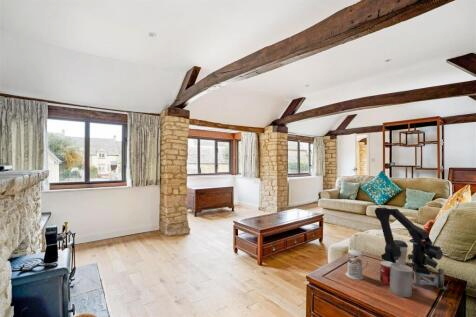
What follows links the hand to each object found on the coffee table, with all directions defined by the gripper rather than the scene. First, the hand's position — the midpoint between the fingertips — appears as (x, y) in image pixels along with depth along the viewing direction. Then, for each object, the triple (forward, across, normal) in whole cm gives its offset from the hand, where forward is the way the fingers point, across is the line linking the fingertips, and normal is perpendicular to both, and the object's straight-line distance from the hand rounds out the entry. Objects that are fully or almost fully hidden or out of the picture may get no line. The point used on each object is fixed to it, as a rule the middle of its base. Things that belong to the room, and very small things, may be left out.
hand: (417, 278), depth 135 cm
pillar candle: (+1, -18, +12) cm, 22 cm away
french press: (+2, -9, +32) cm, 34 cm away
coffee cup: (+4, +25, +4) cm, 26 cm away
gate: (+1, -3, -3) cm, 4 cm away
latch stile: (+2, -5, +1) cm, 6 cm away
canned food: (+2, -10, +16) cm, 19 cm away
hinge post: (+2, -2, -10) cm, 11 cm away
